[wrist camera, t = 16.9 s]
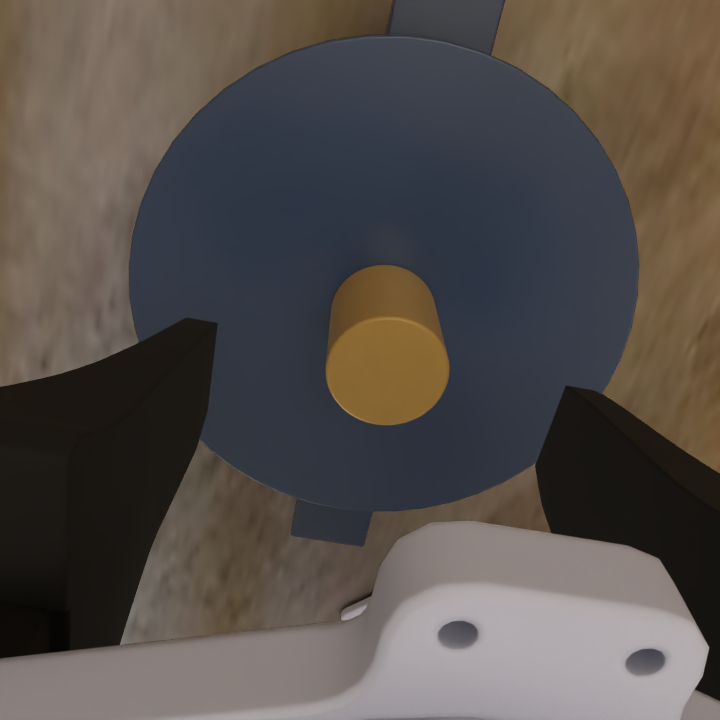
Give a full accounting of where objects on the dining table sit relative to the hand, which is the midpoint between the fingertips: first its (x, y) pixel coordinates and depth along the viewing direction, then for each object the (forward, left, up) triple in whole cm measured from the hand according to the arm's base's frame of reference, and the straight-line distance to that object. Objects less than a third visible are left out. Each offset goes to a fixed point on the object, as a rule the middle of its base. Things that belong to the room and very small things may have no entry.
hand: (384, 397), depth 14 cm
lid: (0, 0, -4) cm, 4 cm away
